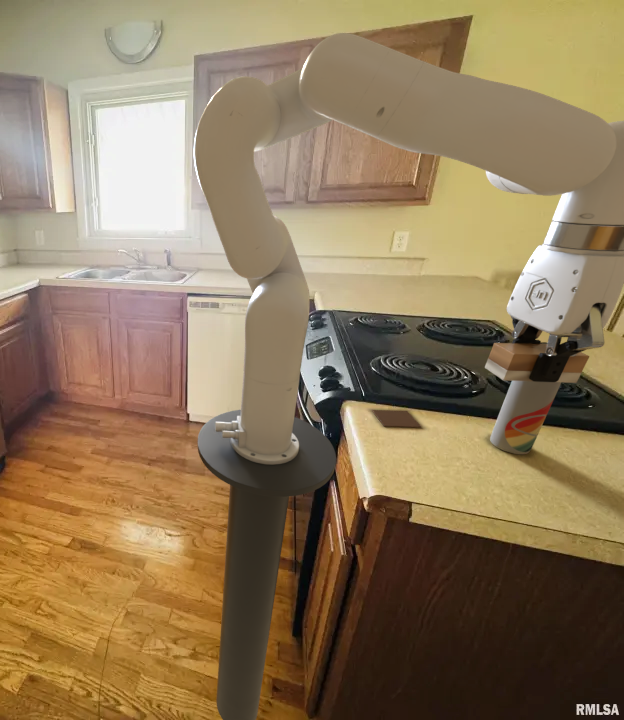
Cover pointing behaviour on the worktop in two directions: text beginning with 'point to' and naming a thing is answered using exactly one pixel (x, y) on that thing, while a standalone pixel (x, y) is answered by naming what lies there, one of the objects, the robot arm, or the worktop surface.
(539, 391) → the lotion bottle
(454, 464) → the worktop surface
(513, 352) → the scrub brush
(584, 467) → the worktop surface
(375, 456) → the worktop surface
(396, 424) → the brown square tile
